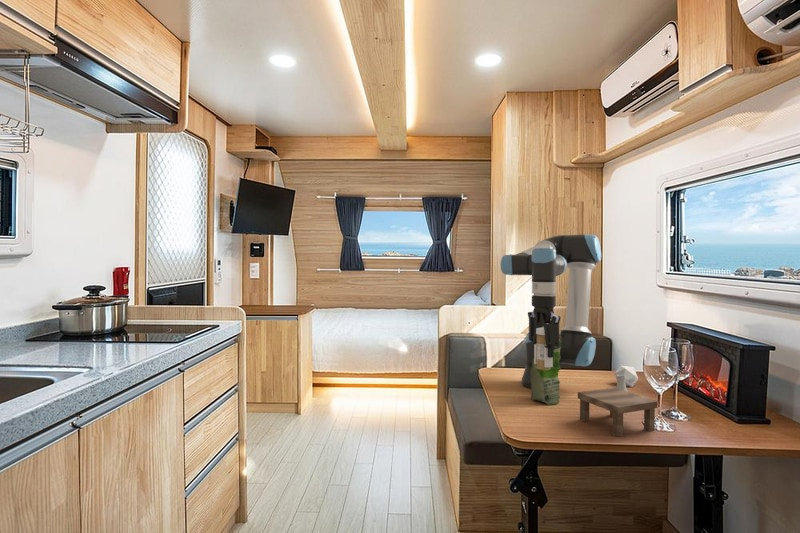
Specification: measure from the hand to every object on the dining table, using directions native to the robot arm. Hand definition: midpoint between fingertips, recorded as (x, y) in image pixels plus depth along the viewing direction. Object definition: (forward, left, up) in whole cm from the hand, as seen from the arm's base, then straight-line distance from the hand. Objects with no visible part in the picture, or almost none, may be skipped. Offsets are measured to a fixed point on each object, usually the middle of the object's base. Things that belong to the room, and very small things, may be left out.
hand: (543, 365), depth 143 cm
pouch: (-14, +13, -18) cm, 26 cm away
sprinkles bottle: (0, 0, -1) cm, 1 cm away
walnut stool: (+13, +18, -18) cm, 28 cm away
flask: (-3, +38, -18) cm, 42 cm away
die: (-20, +60, -18) cm, 65 cm away
